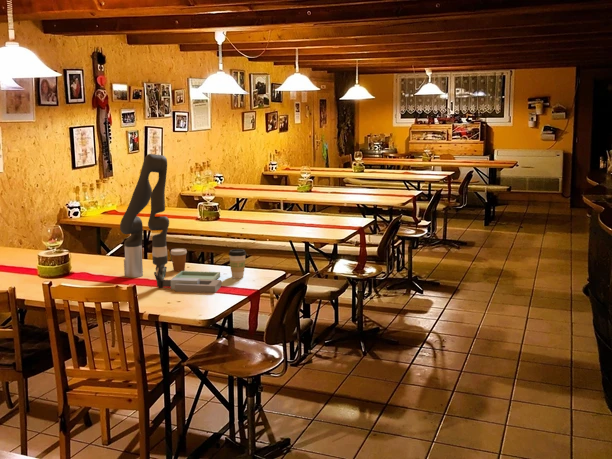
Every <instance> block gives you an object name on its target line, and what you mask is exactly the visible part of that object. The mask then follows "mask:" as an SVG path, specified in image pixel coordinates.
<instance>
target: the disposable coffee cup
mask: <svg viewBox="0 0 612 459" xmlns="http://www.w3.org/2000/svg"><path fill="white" fill-rule="evenodd" d="M169 253H170V256H171V262H172V268H173V269H172V270H173V271H174V272H179V273H180V272H181V271H186V258H187V253H188V251H187V249H186V248H172V249H171V250H170V252H169Z"/></svg>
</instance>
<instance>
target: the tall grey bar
mask: <svg viewBox="0 0 612 459" xmlns="http://www.w3.org/2000/svg"><path fill="white" fill-rule="evenodd" d="M175 284H200V278H174V277H172V278H171V279H164V280H163V287H162V288H164V287H167V288H170V290H175ZM156 287H158V280H156Z"/></svg>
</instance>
